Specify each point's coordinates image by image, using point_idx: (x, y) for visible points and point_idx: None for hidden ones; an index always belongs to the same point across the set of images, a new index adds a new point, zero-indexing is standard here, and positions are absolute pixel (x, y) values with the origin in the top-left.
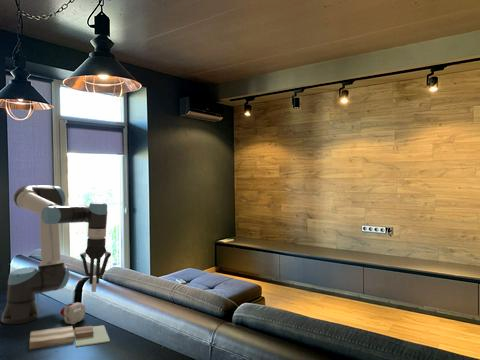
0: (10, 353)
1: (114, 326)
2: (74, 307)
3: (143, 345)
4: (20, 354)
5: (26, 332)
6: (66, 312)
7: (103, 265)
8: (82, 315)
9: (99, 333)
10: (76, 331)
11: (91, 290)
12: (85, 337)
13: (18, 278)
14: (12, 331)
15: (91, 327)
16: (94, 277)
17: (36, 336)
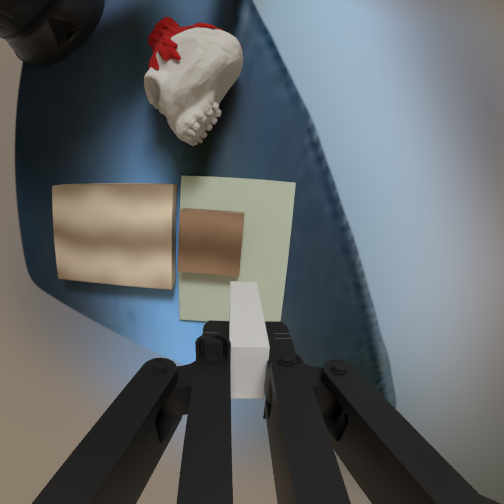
0: (36, 276)
1: (328, 202)
2: (178, 103)
3: None
4: (55, 293)
5: (54, 138)
6: (152, 99)
7: (357, 482)
8: (226, 88)
9: (262, 256)
10: (182, 249)
11: (230, 284)
12: None
13: None
14: (29, 119)
15: (238, 234)
16: (242, 396)
17: (67, 238)
